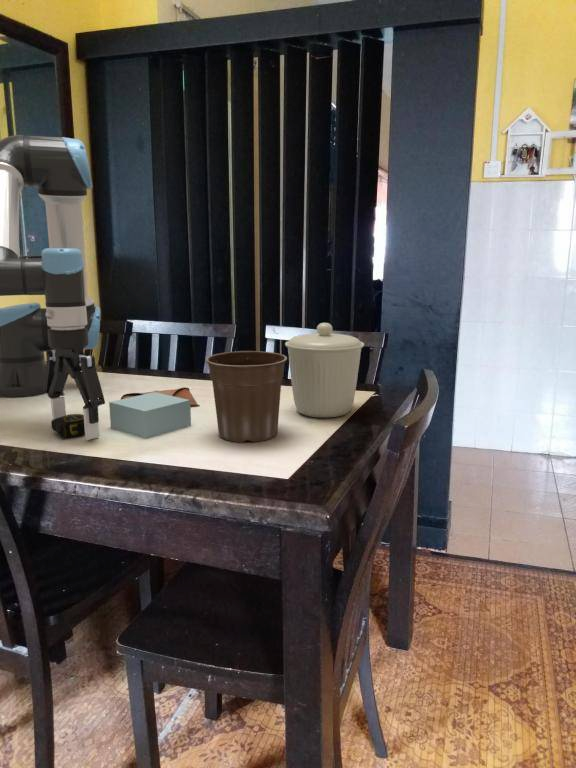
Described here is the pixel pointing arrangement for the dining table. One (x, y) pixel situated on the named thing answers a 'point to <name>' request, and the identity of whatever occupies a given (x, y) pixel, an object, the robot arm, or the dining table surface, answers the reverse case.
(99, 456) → the dining table surface
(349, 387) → the canister
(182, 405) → the painted block
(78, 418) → the tape measure
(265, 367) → the plant pot
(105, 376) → the dining table surface
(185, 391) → the sunglasses case
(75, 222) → the robot arm
